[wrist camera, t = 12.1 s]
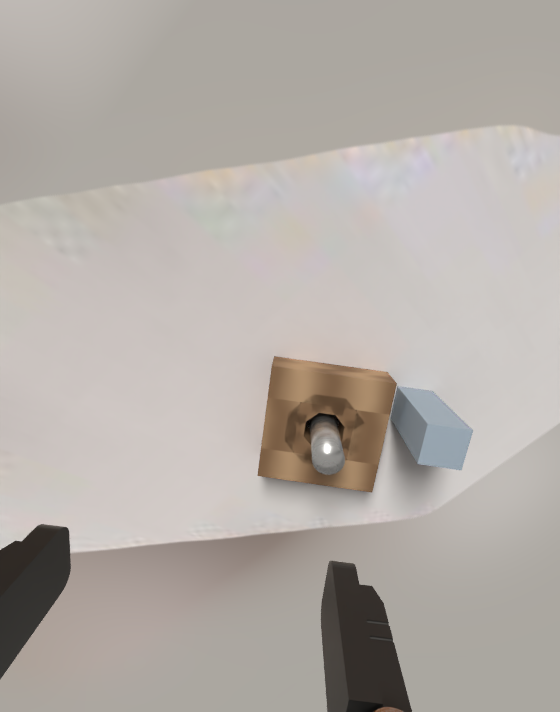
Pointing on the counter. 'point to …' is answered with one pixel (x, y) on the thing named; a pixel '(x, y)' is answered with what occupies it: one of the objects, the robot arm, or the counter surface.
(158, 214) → the counter surface
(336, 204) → the counter surface
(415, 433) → the square peg
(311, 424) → the round peg
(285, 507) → the counter surface
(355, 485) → the bore block
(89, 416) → the counter surface
